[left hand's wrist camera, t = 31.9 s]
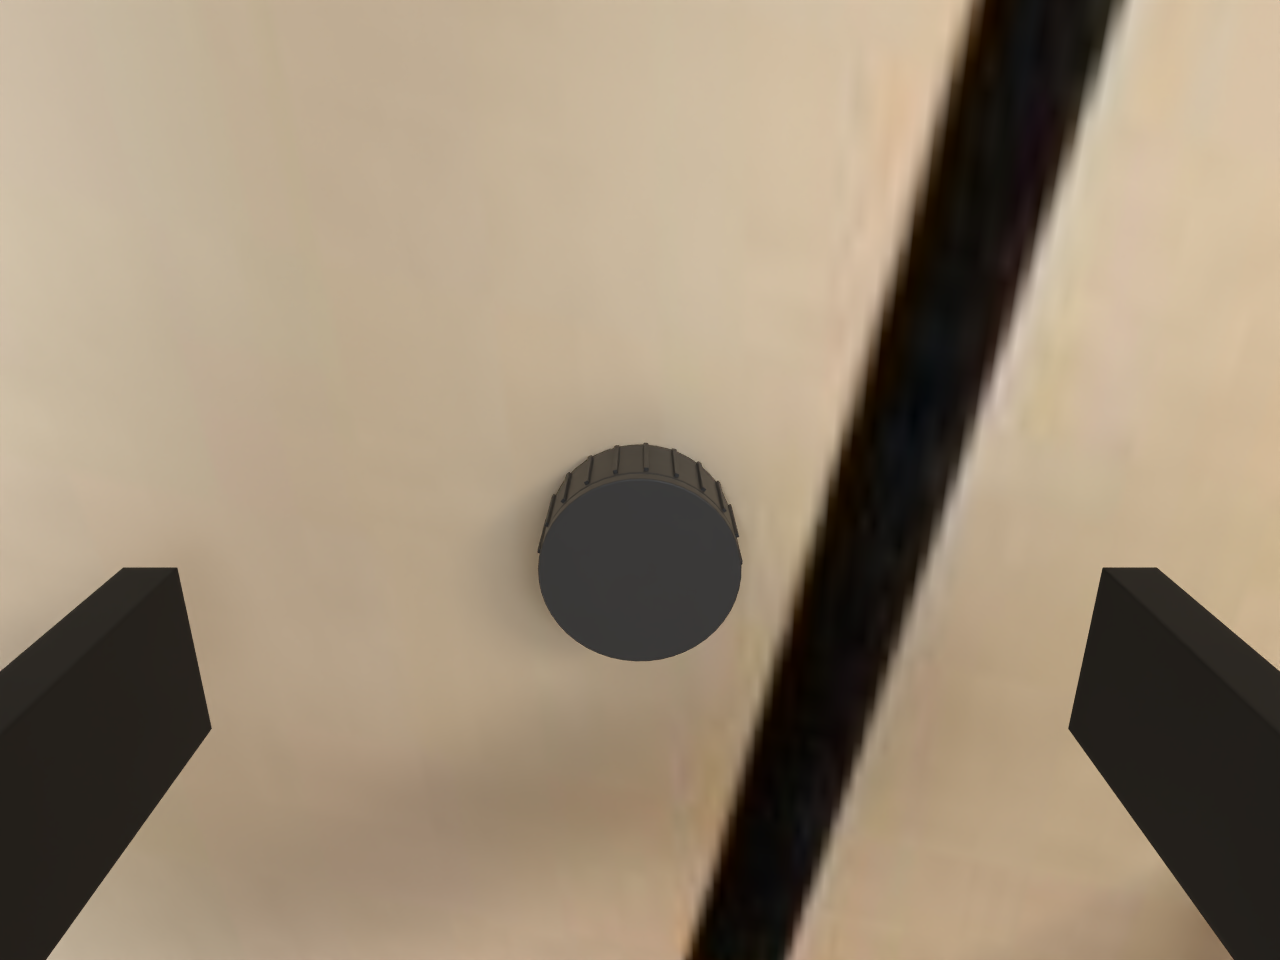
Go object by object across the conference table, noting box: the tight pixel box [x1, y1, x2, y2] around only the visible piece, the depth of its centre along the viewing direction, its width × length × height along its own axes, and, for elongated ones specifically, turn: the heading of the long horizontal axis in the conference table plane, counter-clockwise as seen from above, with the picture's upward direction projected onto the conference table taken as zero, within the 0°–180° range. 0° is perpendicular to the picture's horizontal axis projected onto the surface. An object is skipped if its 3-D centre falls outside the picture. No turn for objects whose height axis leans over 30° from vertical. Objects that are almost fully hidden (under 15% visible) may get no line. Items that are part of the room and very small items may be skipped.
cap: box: [538, 443, 742, 661], centre depth 17 cm, size 4×4×2 cm
